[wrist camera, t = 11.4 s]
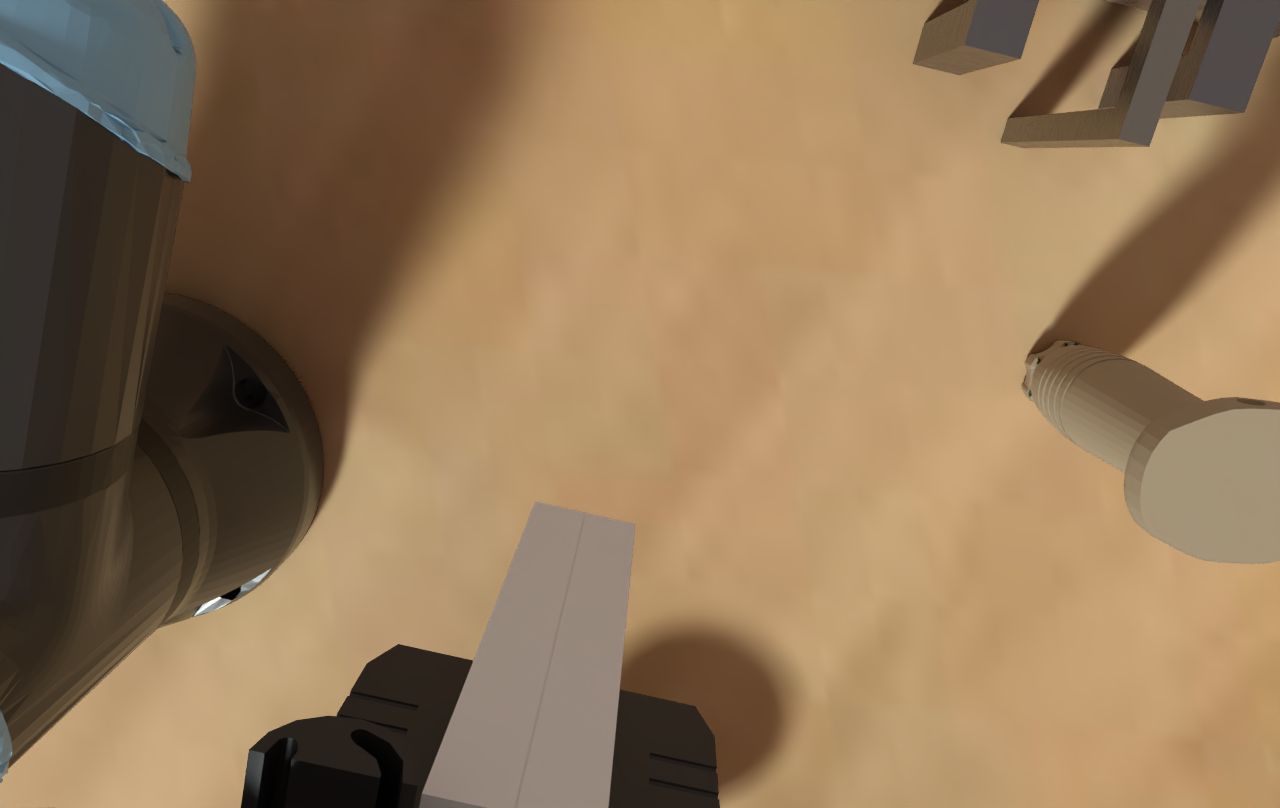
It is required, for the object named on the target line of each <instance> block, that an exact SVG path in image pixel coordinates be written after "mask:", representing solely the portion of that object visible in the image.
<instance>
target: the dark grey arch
mask: <svg viewBox="0 0 1280 808" xmlns="http://www.w3.org/2000/svg"><path fill="white" fill-rule="evenodd" d="M1038 2H1039V0H969V1H968V2H966V3H964V4H962V5H960V6H958V7H956V8H954V9H952V10H950V11H948V12H946V13H944V14H942V15H940V16H939V17H937V18H935V19H933V20H931V21H929V22H927V23H925V24H924V27H923V30H922V34H921V37H920V41H919V44H918V48H917V51H916V55H915V58H914V62H913V64H916V65H920V66H924V67H928V68H932V69H936V70H940V71H945V72H949V73H953V74H957V75H962V74H965V73H969V72H973V71H977V70H980V69H984V68H988V67H992V66H995V65H999V64H1003V63H1007V62H1010V61H1014V60H1018V59H1021V56H1022V53H1023V50H1024V46H1025V43H1026V40H1027V37H1028V34H1029V30H1030V27H1031V24H1032V21H1033V18H1034V15H1035V11H1036V8H1037V5H1038Z"/></svg>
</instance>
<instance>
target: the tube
mask: <svg viewBox="0 0 1280 808" xmlns="http://www.w3.org/2000/svg"><path fill="white" fill-rule="evenodd" d="M1105 1H1109V2H1114V3H1118V4H1122V5H1126V6H1130V7H1134V8H1138V9H1142V10H1147V11H1148V10H1149V7H1150V5H1151V2H1152V0H1105ZM1206 1H1207V0H1201V2H1200V5H1199V8H1198V11H1197V13H1196V16H1195V19H1194V22H1196V23H1199V21H1200V18H1201V15H1202V13H1203V10H1204V7H1205V4H1206ZM1278 36H1280V19H1279V22H1278V24H1277V27H1276V30H1275V32H1274V35H1273V37H1272V39H1273V38H1276V37H1278Z"/></svg>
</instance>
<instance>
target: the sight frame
mask: <svg viewBox="0 0 1280 808" xmlns="http://www.w3.org/2000/svg"><path fill="white" fill-rule="evenodd" d="M1200 2H1201V0H1152V2H1151V5H1150V7H1149V10H1148V13H1147V16H1146V19H1145V22H1144V25H1143V28H1142V31H1141V34H1140V37H1139V40H1138V43H1137V45H1136V48H1135V51H1134V54H1133V57H1132V60H1131V63H1130V66H1129V69H1128V72H1127V75H1126V78H1125V80H1124V83H1123V86H1122V89H1121V92H1120V95H1119V98H1118V101H1117V104H1116V107H1115V108H1108V109H1098V110H1088V111H1078V112H1068V113H1058V114H1048V115H1037V116H1027V117H1017V118H1008V120H1007V124H1006V127H1005V130H1004V133H1003V136H1002V139H1001V143H1005V144H1009V145H1013V146H1017V147H1021V148H1067V147H1149V146H1150V143H1151V140H1152V137H1153V134H1154V132H1155V129H1156V126H1157V123H1158V120H1159V118H1160V115H1161V112H1162V109H1163V106H1164V104H1165V101H1166V98H1167V95H1168V92H1169V89H1170V87H1171V84H1172V81H1173V78H1174V75H1175V73H1176V70H1177V67H1178V64H1179V61H1180V58H1181V56H1182V53H1183V50H1184V47H1185V44H1186V42H1187V39H1188V36H1189V33H1190V30H1191V27H1192V25H1193V22H1194V19H1195V16H1196V13H1197V11H1198V8H1199V5H1200Z"/></svg>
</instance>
